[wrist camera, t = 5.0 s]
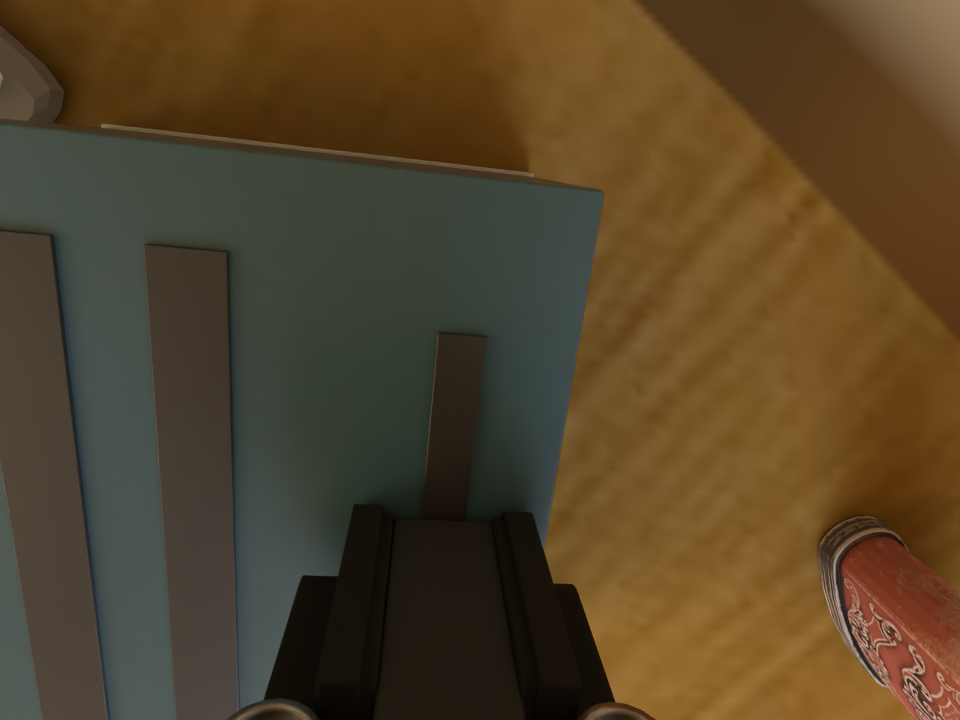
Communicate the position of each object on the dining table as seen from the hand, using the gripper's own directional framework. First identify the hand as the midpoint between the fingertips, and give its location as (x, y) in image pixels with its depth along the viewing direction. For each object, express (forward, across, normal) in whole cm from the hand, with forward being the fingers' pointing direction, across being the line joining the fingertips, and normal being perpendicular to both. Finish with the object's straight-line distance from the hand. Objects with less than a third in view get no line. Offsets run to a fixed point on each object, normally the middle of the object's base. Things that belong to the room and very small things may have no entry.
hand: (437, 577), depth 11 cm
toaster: (+8, +4, +1) cm, 9 cm away
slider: (0, 0, 0) cm, 0 cm away
